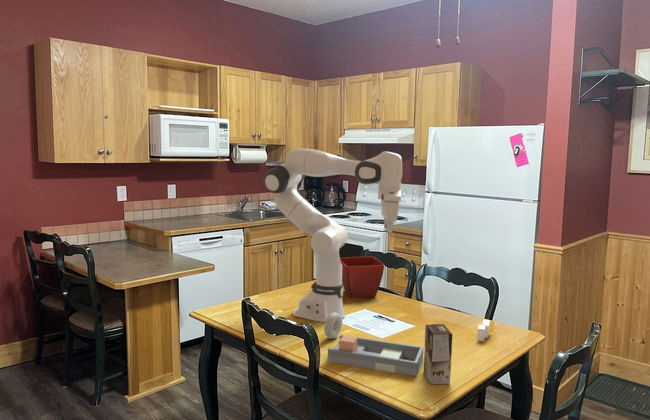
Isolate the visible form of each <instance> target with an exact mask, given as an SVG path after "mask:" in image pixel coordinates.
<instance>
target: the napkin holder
mask: <svg viewBox="0 0 650 420" xmlns="http://www.w3.org/2000/svg"><path fill="white" fill-rule="evenodd" d="M490 323H491V320H489V319H483V321H482V324H478V327H477V342H485V339H488V338H489V335H490V325H491V324H490Z"/></svg>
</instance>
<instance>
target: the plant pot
mask: <svg viewBox="0 0 650 420" xmlns="http://www.w3.org/2000/svg"><path fill="white" fill-rule="evenodd" d="M340 261H341V264H342V283H343V291H344V292H345V293H346V294H347V295H348V297H349V298H350V299H359V298H363V299H364V298H375V297H376V296H377V294H378V292H379V289H380V286H381V282H382V279H383V275H384V270H385V264H384V263H383V262H381V261H380V260H379V259H377V258H376V257H375V256H352V257H351V256H350V257H349V256H348V257H340Z"/></svg>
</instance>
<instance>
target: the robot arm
mask: <svg viewBox="0 0 650 420" xmlns="http://www.w3.org/2000/svg"><path fill="white" fill-rule="evenodd" d="M336 175H337V176H338V175H349V176H354V177H355V179H356V180H357V182H359V183H360V184H363V185H366V186H367V185H368V186H369V185H370V186H371V185H378V186H377V187H378V190H377V191H378V192H377V199H378V200H380V203H381V208H380V211H381V212H380V214H381V216H382V217H383V228H384V229H386V232H387V233H388V234H392V233H393V226H394V223H396V222H397V220H398V216H399V208H400V207H399V206H400V202H401V201H402V191H403V190H402V188H403V187H402V178H403V160H402V156H401V155H400V154H398V153H397V152H393V151H392V152H391V151H382V152H381V153H380V154H378V155H376V156H374V157H372V158H371V157H370V158H369V159H365V160H357V159H356V160H354V159H348V158H344V157H341V156H337V155H335V154H331V153H330V152H329V153H328V152H326V151H322V150H318V149H314V148H303V147H301V148H292V149H289V151H288V152H287V154H286V156H285V161H284V163H281V164H279V165H277V166H275V167H273V168H271V169H269V170H268V171H266V172H265V174H264V176H263V185H264V188H265V189H266V190H267V191H268V192H270V193H272V194H275V196H274V204H275V205H276V207H277V208H278V209H279V211H280V212H281V213H282V214H283V215H284V216H285V217H286V218H287V219H288V220H289V221H290V222H291V223H293V224H294V225H295V226H296V227H297V228H298V229H299V230H300V231H301V232H304V233H306V234H308V235H310V236H312V237H311V238H310V246H311V249H312V251H313V253H314V258H315V264H316V265H315V267H316V268H315V269H316V272H315V273H316V274H315V275H316V277H315V279H316V280H315V281H314V282H313V283H312V284H311V286H310V289H311V291H309V292H308V293H306V295H303V297H301V299H299V303H298V307H296V308H294V310H293V311H292V315H293V317H297V318H303V319H307V320H309V321H315V322H319V323H325V321H326V319H327V317H328V316H329V315H330V314H331V313H334V312H336V313H338V314H339V315H340V316H341V319H342V320H343V318H345V316H346V314H345V309H344V305H343V296H344V287H343V283H342V264H341V261H340V258H341V257H340V256H341V255H340V249H341V248H343V246H345V245H346V242H347V240H348V238H349V235H348V231H347V228H345V227H344V226H343V225H341V224H339V223H337V222H336V221H334V220H333V219H331V218H330V217H328V216H326V215H325V214H323V213H322V212H320V211H319V210H318V209H317V208H316V207H314V206H313V205H312V204H311V203H310V202H308V201H307V200H306V199H305V197H303V196H302V195H301V194H300V193H299V192H298V189H300V188H301V186H302V183H303V181H304V179H305V176H307V177H312V178H313V177H315V178H318V177H319V178H322V177H330V176H336Z"/></svg>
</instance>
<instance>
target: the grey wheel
mask: <svg viewBox="0 0 650 420" xmlns="http://www.w3.org/2000/svg"><path fill="white" fill-rule="evenodd" d="M342 320H343V318H342V319H341V316H340V315H339V314H338V313H336V312H334V313H331V314H330V315H329V316H328V317H327V319H326V321H325V322H324V324H323V333H324V335H325V336H326V338H327V339H329V340H333V339H336V338H337V337H338V336H339V334H340V332H341V329H342V327H343V326H342V325H343V321H342Z"/></svg>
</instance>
